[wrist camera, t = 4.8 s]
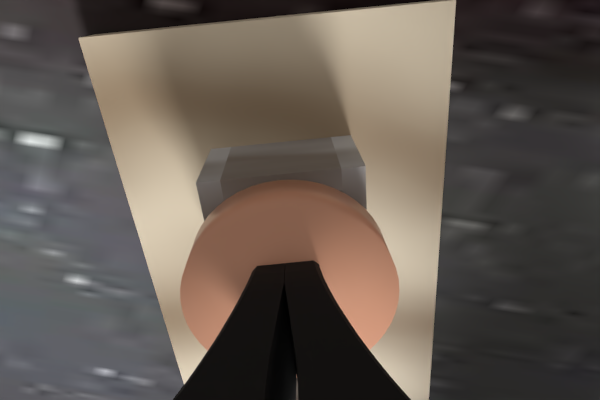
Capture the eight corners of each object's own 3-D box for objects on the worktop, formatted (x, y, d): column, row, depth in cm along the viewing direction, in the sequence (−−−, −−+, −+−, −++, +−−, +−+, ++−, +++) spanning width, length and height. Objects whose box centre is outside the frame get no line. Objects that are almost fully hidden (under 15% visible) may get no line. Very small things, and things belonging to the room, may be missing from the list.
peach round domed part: (369, 275, 14) (397, 368, 10) (223, 289, 14) (203, 387, 10) (365, 134, 12) (401, 192, 8) (193, 151, 12) (155, 216, 8)
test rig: (417, 457, 21) (440, 537, 18) (221, 475, 21) (210, 559, 18) (443, -1, 12) (500, 2, 9) (93, 34, 12) (26, 49, 9)
